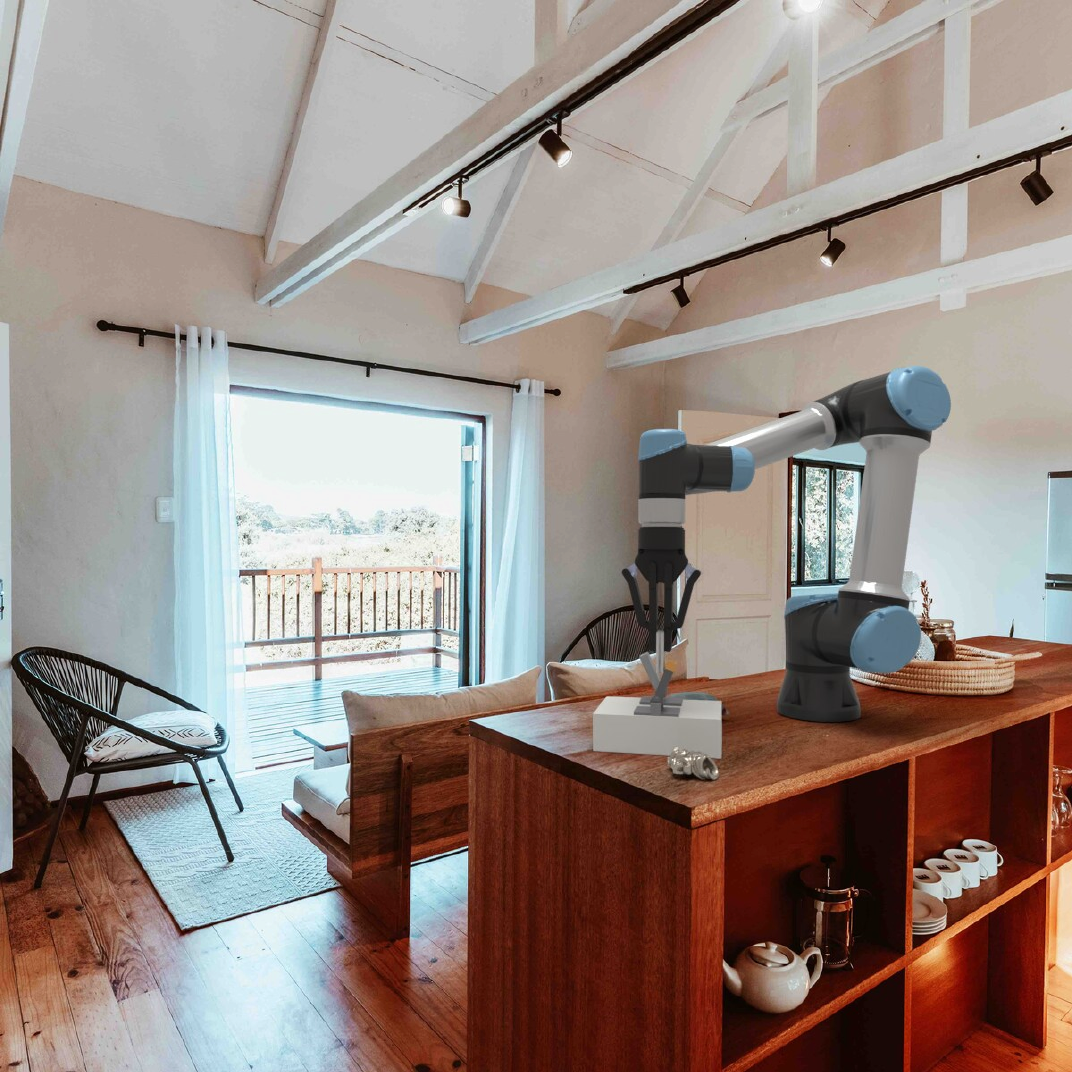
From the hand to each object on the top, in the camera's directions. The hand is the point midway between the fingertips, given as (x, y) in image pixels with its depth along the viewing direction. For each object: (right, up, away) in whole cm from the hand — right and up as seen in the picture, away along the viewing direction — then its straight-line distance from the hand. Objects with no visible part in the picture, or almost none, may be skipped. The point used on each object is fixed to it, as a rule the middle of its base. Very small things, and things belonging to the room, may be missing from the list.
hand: (660, 671), depth 120 cm
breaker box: (+1, -13, +4) cm, 13 cm away
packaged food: (+10, -13, +22) cm, 28 cm away
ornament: (+2, -13, -13) cm, 18 cm away
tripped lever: (-1, -5, 0) cm, 5 cm away
